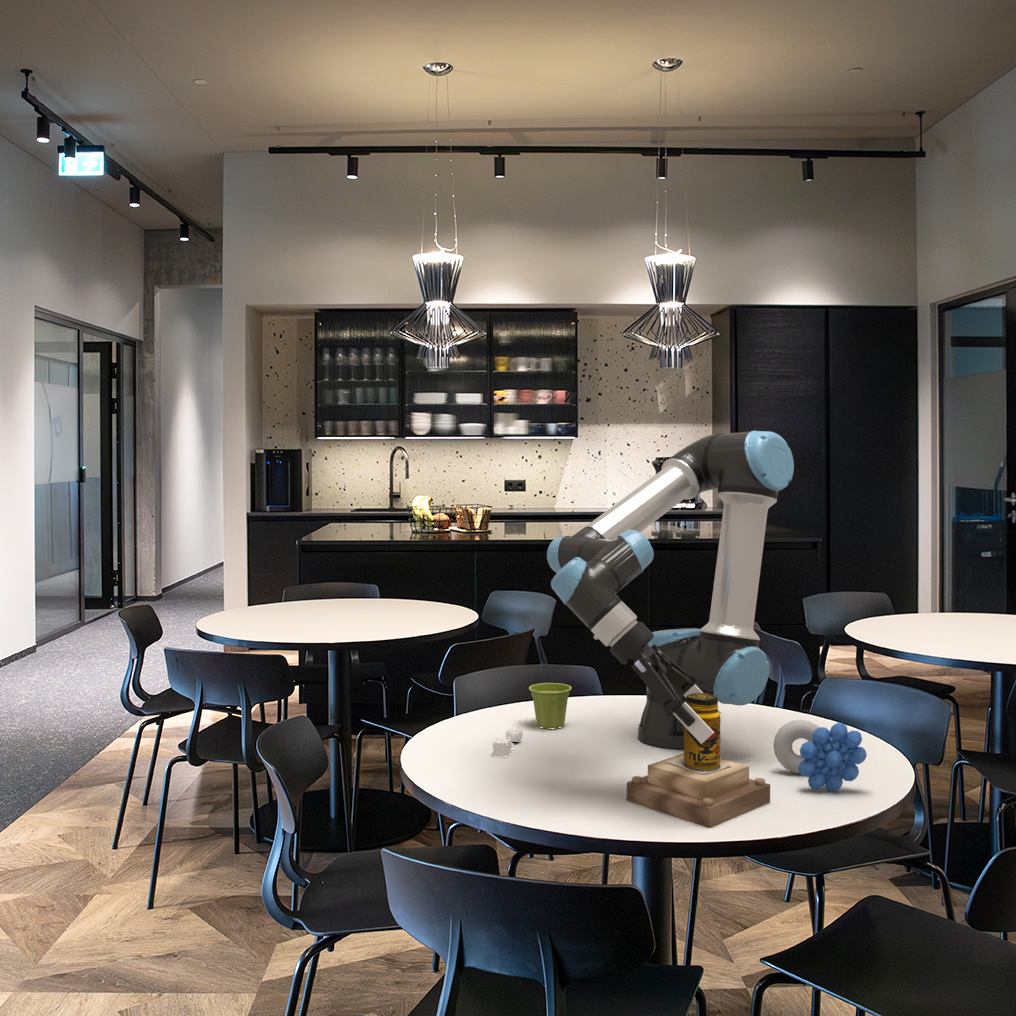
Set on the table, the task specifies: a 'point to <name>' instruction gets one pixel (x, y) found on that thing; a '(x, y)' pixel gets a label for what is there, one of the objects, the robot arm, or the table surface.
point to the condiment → (708, 752)
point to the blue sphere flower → (831, 757)
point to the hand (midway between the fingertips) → (712, 727)
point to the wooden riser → (699, 792)
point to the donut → (786, 739)
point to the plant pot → (550, 703)
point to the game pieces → (506, 742)
